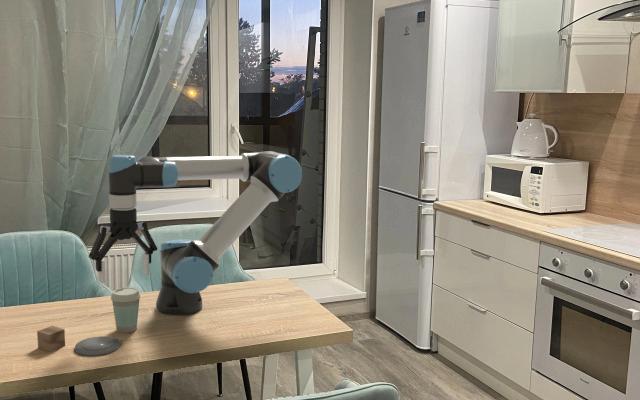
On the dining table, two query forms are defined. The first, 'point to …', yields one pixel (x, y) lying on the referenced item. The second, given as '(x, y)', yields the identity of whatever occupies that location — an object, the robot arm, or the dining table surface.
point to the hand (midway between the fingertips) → (124, 278)
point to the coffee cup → (126, 308)
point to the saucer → (97, 346)
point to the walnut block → (51, 338)
